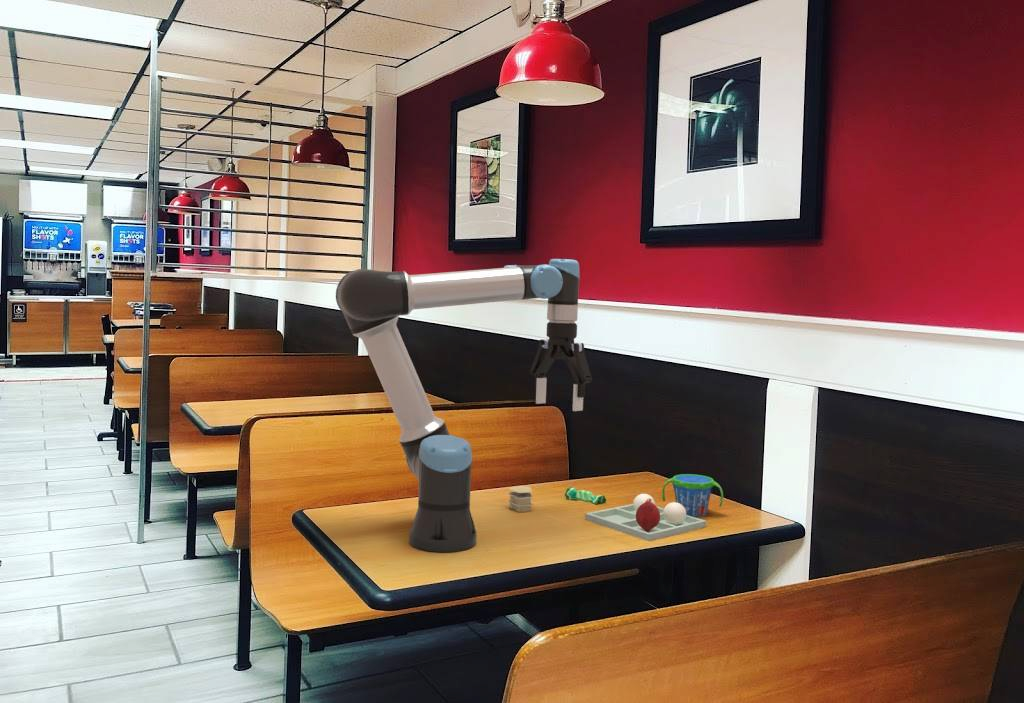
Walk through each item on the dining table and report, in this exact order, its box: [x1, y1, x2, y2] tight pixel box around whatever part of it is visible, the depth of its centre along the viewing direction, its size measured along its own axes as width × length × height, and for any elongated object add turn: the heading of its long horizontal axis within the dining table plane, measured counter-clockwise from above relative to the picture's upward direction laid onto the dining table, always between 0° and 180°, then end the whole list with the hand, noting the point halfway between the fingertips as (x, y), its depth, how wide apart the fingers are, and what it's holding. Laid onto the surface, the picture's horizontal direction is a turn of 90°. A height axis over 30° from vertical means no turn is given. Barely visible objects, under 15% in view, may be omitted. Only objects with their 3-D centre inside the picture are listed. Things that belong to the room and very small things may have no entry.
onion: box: [636, 498, 660, 531], centre depth 201 cm, size 6×6×8 cm
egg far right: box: [663, 501, 686, 525], centre depth 207 cm, size 6×6×6 cm
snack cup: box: [661, 473, 724, 518], centre depth 219 cm, size 16×10×10 cm
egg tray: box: [584, 503, 707, 542], centre depth 208 cm, size 21×21×2 cm
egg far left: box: [632, 493, 656, 512], centre depth 215 cm, size 6×6×6 cm
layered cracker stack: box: [508, 485, 533, 513], centre depth 221 cm, size 10×9×6 cm
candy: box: [564, 486, 607, 505], centre depth 230 cm, size 12×3×4 cm
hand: (558, 407), depth 209 cm, fingers open, 13 cm apart
